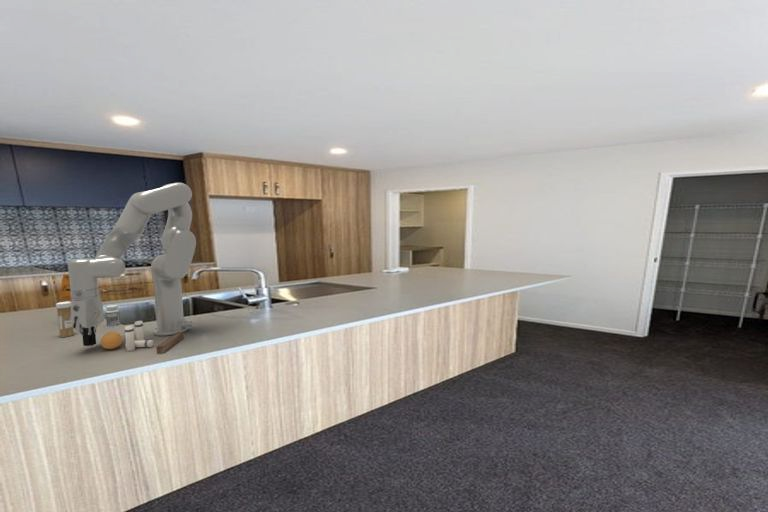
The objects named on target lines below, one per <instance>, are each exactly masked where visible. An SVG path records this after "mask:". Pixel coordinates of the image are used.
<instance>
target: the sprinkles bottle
mask: <svg viewBox="0 0 768 512" xmlns="http://www.w3.org/2000/svg"><path fill="white" fill-rule="evenodd" d="M55 308H56V310H57V311H56V312H57V323H58V329H59V330H58V331H59V337H61V338H67V337H71V336H74V335H75V331H74V328H73V327H72V323H71V302H60V301H59V302H57V303H56V304H55Z"/></svg>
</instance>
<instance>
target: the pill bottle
mask: <svg viewBox="0 0 768 512" xmlns="http://www.w3.org/2000/svg"><path fill="white" fill-rule="evenodd" d="M118 308H119V306H118V304H111V305H107V306H106V308H105V309H106V311H105V317H106V318H105V319H106V325H108V326H107V327H114V326H113V325H115V326H118V325H121V317H120V315H121V314H120V309H118ZM117 324H118V325H117Z"/></svg>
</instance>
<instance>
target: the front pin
mask: <svg viewBox="0 0 768 512" xmlns="http://www.w3.org/2000/svg"><path fill="white" fill-rule="evenodd" d="M154 342H155V341H154V340H153V339H146V340H145V339H144V340H138V341H136V340H134V343H135V348H152V347H153V346H154ZM124 343H125V344H124V346H125V348H126V342H124Z"/></svg>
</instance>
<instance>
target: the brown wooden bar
mask: <svg viewBox="0 0 768 512" xmlns="http://www.w3.org/2000/svg"><path fill="white" fill-rule="evenodd" d="M182 340H184V332H177V333H176V334H173V335H170V337H168V338H167V339H165V340H163V341H162V342H160V343H159V344H158V345H156V353H157V354H164V353H166V352H167V351H169V350H170V349H171V348H172V347H174V346H175V345H176V344H178V343H179V342H181V341H182Z"/></svg>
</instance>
